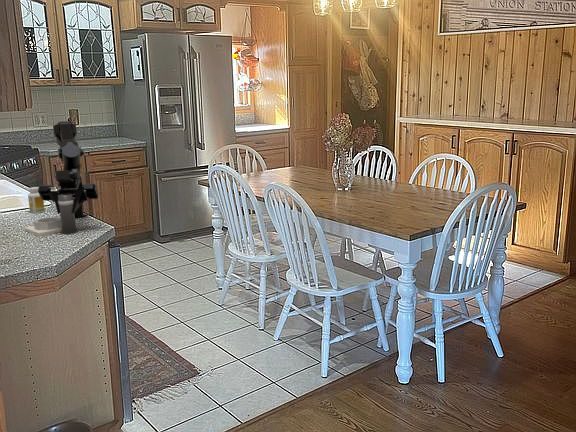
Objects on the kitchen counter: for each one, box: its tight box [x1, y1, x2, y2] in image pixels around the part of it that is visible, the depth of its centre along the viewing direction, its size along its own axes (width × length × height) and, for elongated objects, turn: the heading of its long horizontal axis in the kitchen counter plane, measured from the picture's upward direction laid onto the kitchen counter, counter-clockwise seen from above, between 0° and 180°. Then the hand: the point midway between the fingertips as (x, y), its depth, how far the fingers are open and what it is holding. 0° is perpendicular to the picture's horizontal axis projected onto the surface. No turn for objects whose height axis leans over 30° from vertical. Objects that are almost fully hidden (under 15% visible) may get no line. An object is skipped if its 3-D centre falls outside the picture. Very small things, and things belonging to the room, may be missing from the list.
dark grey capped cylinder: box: [58, 193, 77, 235], centre depth 197 cm, size 5×5×13 cm
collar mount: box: [23, 216, 62, 237], centre depth 203 cm, size 12×12×4 cm
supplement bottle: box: [27, 186, 46, 214], centre depth 232 cm, size 5×5×10 cm
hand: (65, 212), depth 196 cm, fingers closed on dark grey capped cylinder, 4 cm apart
